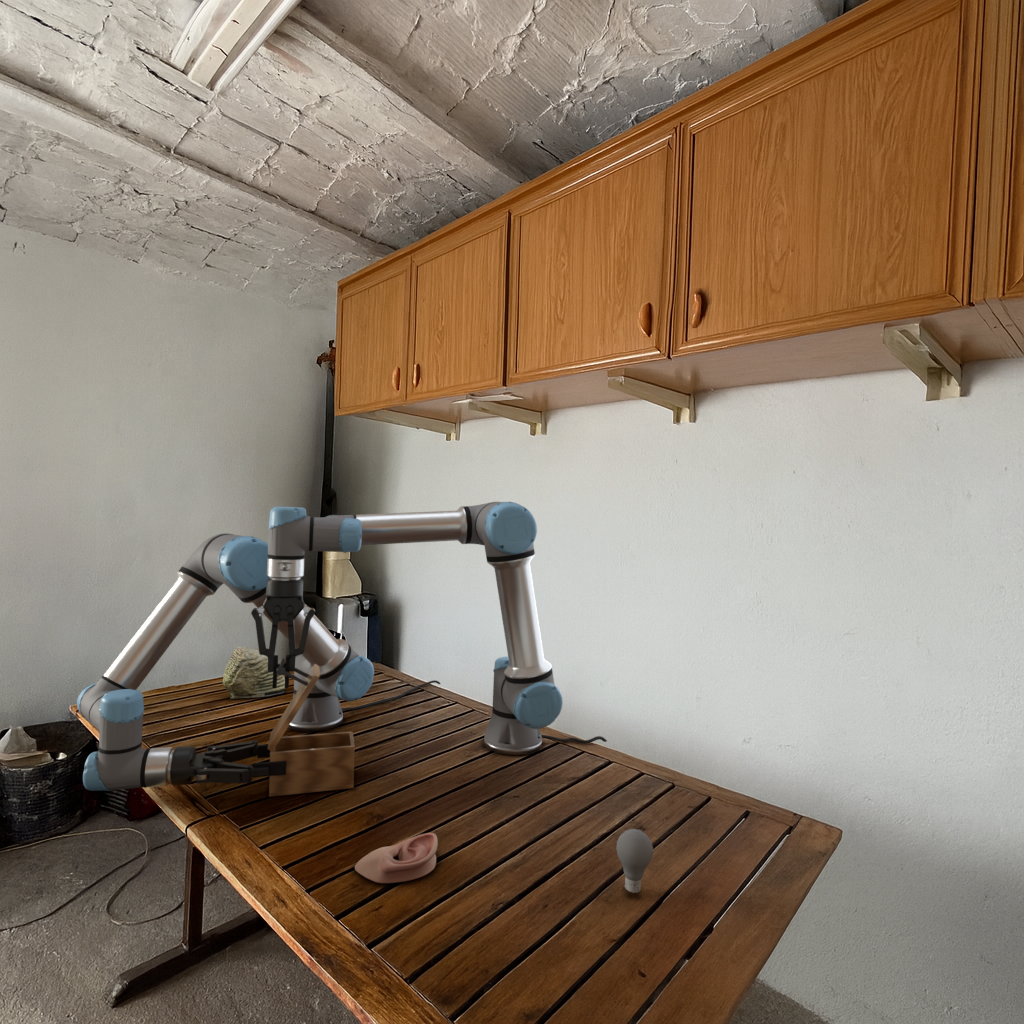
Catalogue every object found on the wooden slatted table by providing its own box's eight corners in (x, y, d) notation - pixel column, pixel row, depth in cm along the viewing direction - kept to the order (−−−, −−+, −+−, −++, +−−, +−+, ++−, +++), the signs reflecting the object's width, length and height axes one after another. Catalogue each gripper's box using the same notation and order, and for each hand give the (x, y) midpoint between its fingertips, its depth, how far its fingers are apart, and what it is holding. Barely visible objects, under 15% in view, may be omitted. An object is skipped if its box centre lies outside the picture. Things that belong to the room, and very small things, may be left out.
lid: (319, 666, 144) (286, 648, 142) (319, 677, 135) (284, 658, 133) (275, 735, 142) (241, 719, 139) (272, 751, 133) (235, 734, 131)
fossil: (218, 695, 195) (220, 647, 195) (278, 685, 208) (279, 640, 207) (228, 703, 189) (230, 653, 188) (289, 692, 201) (290, 645, 201)
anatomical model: (347, 854, 106) (375, 820, 117) (346, 877, 106) (374, 841, 117) (422, 866, 103) (444, 831, 114) (421, 891, 103) (443, 853, 114)
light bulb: (610, 879, 108) (613, 822, 108) (644, 879, 109) (647, 822, 109) (619, 902, 102) (622, 840, 102) (655, 901, 103) (658, 840, 103)
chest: (351, 770, 147) (352, 731, 146) (353, 788, 138) (354, 746, 138) (272, 777, 142) (273, 737, 141) (269, 796, 133) (269, 753, 133)
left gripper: (183, 762, 142) (289, 755, 149) (159, 809, 121) (283, 798, 128) (184, 729, 142) (290, 723, 148) (160, 770, 121) (285, 761, 127)
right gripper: (246, 580, 131) (241, 693, 131) (321, 580, 135) (316, 690, 136) (250, 575, 138) (245, 682, 139) (321, 576, 142) (316, 680, 143)
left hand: (287, 758), depth 138 cm, fingers closed on chest, 9 cm apart
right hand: (280, 686), depth 137 cm, fingers closed on lid, 2 cm apart
